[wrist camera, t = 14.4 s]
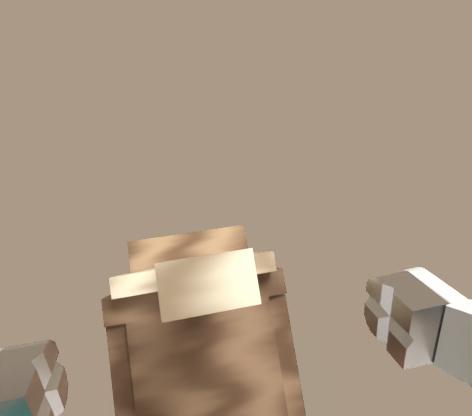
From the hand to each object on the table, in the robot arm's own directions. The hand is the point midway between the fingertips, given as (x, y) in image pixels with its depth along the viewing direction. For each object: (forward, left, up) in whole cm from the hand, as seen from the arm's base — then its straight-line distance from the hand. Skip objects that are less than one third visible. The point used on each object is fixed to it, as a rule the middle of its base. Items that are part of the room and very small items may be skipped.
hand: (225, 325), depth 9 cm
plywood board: (0, +17, 0) cm, 17 cm away
